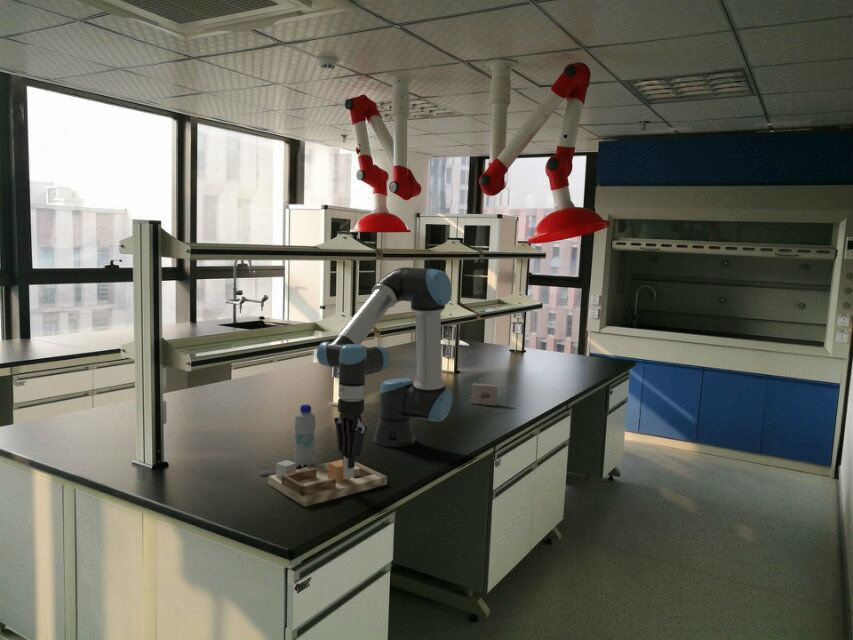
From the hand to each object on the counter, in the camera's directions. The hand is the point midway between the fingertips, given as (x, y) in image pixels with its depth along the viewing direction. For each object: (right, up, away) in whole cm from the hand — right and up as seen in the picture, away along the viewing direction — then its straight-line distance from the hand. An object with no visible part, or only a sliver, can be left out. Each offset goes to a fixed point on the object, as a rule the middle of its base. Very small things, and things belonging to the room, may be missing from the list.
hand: (348, 477), depth 188 cm
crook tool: (-23, -2, +9) cm, 25 cm away
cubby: (-11, -1, -4) cm, 12 cm away
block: (-19, 0, +2) cm, 19 cm away
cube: (-3, -1, +3) cm, 4 cm away
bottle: (-17, -1, +19) cm, 25 cm away
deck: (-6, -3, +4) cm, 8 cm away
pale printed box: (+50, +6, +114) cm, 124 cm away
